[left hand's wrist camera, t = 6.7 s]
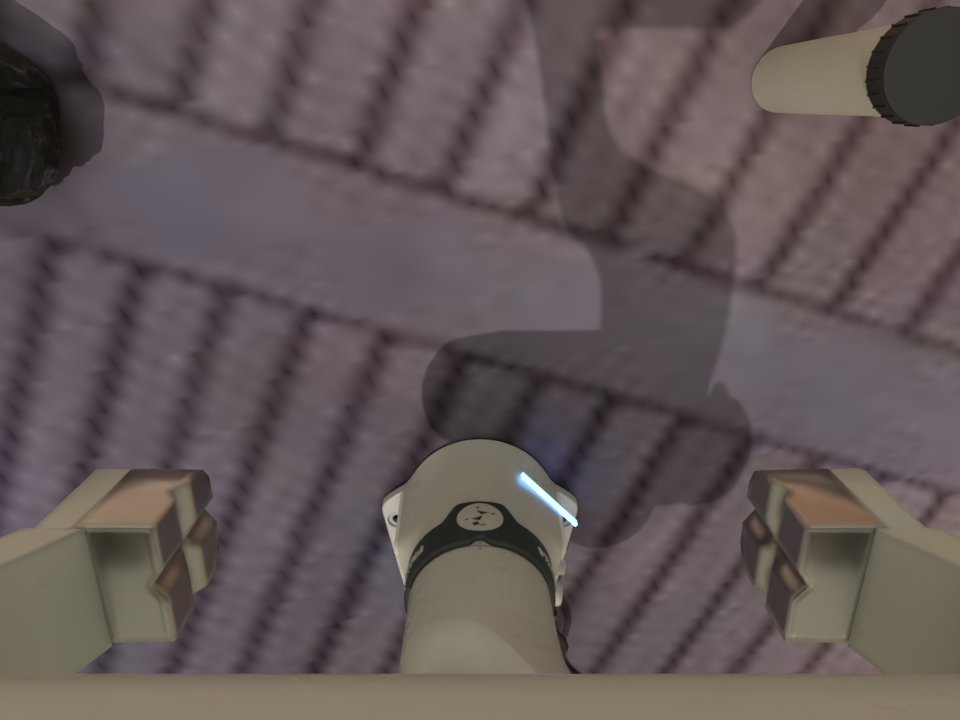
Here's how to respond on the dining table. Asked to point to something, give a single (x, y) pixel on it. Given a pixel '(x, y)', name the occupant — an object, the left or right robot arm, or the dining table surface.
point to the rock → (26, 130)
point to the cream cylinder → (818, 75)
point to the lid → (917, 69)
